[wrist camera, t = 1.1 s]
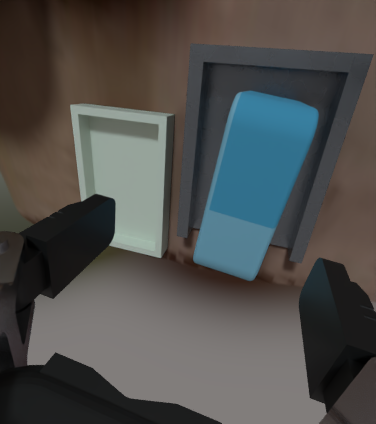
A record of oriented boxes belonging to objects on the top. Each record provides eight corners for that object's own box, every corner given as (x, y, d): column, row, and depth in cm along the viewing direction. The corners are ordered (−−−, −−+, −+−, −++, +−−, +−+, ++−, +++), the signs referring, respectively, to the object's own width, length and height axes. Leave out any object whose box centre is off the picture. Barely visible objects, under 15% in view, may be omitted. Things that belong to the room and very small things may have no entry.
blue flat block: (257, 217, 28) (250, 291, 18) (217, 205, 29) (189, 271, 19) (299, 100, 23) (325, 111, 12) (249, 89, 24) (233, 91, 13)
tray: (174, 114, 27) (166, 116, 25) (167, 247, 34) (161, 258, 32) (84, 103, 29) (70, 104, 27) (96, 231, 36) (85, 239, 34)
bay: (360, 58, 21) (373, 54, 18) (298, 247, 29) (301, 263, 27) (199, 48, 24) (190, 43, 21) (184, 223, 32) (176, 235, 29)
